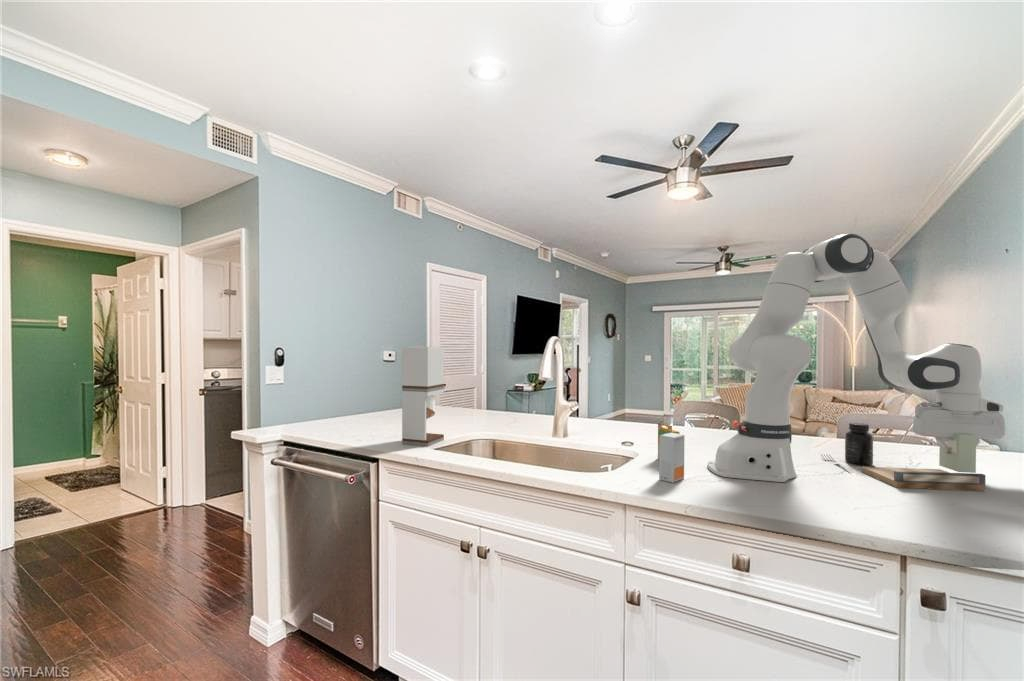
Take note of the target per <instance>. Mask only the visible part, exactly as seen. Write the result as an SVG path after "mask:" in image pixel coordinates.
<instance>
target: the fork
mask: <svg viewBox="0 0 1024 681" xmlns="http://www.w3.org/2000/svg"><path fill="white" fill-rule="evenodd" d="M820 456H821V457H822V458H823V460H824V461H825V460H826V461H828V460H829V461H831V460H832V461H833V462H835V461H836V460H835V459H834V458H833V457H832V456H831V455H830V454H824V453H823V454H822V453H820ZM835 464H836V465H835V466H840V467H842V468H843V469H844V470H845V471H846V472H848V474H850V473H855V472H854V471H852V470H850V469H849V468H848V467H846V466H845V465H843V464H841V463H835Z"/></svg>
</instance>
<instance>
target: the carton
mask: <svg viewBox="0 0 1024 681" xmlns="http://www.w3.org/2000/svg"><path fill="white" fill-rule="evenodd" d="M945 442H946V444H947V446H948V447H951V454H944V453H941V451H940V450H939V461H938V463H939V466H940V467H943V468H946V469H949V470H952V471H954V472H956V473H973V474H977V464H976V462H977V447H976V435H973V434H955V436H954V437H947V441H945Z"/></svg>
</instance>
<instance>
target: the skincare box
mask: <svg viewBox="0 0 1024 681" xmlns="http://www.w3.org/2000/svg"><path fill="white" fill-rule="evenodd" d="M658 460H659V463H658V464H659V465H658V467H659V468H658V475H659V476H658V479H659V480H661V481H664V482H668V483H671V484H672V483H676V482H678V481H681V480H684V479H685V434H683V433H680V434H676V433H667V434H664V435H660V444H659V459H658Z"/></svg>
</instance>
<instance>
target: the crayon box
mask: <svg viewBox="0 0 1024 681" xmlns="http://www.w3.org/2000/svg"><path fill="white" fill-rule="evenodd" d="M667 433H676V434H681V433H680V431H678V430H675V429H673V427H672V425H670V424H666V423H662V422H659V421H658V422H657V459H658V460H659V444H660V435H664V434H667Z"/></svg>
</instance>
